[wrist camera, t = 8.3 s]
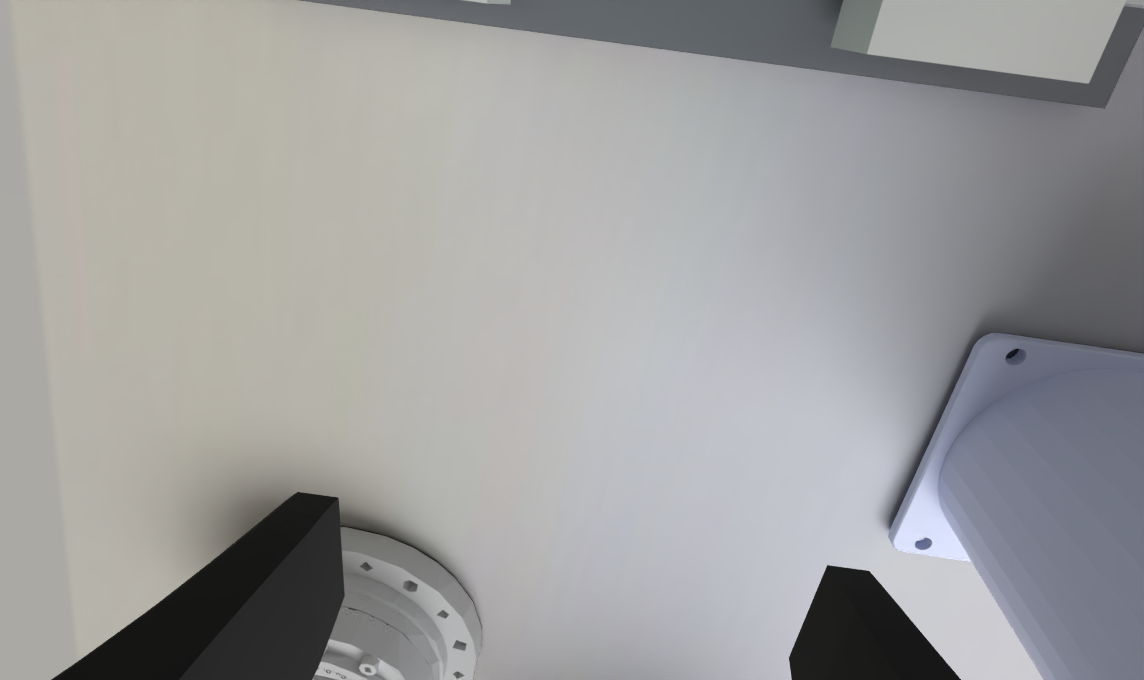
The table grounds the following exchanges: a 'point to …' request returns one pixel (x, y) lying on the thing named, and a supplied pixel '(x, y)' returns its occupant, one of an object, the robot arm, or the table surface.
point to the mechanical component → (399, 616)
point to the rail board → (761, 38)
